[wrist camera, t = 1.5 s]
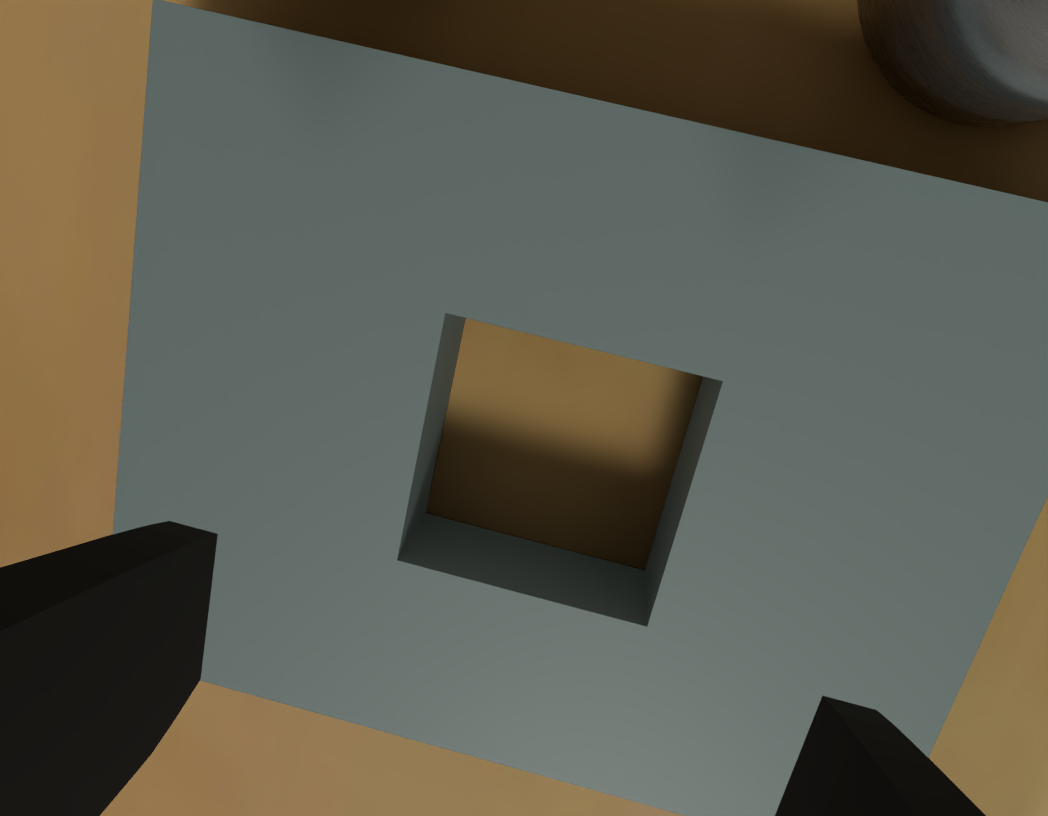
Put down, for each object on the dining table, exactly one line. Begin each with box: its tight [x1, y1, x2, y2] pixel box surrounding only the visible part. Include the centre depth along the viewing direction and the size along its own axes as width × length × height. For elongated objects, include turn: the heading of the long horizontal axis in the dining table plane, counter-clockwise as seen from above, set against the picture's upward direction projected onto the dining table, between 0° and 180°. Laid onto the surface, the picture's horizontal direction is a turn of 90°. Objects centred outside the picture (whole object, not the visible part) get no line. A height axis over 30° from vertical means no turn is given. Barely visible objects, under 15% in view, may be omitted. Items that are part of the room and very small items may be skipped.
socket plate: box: [113, 0, 1048, 816], centre depth 17 cm, size 18×14×2 cm
